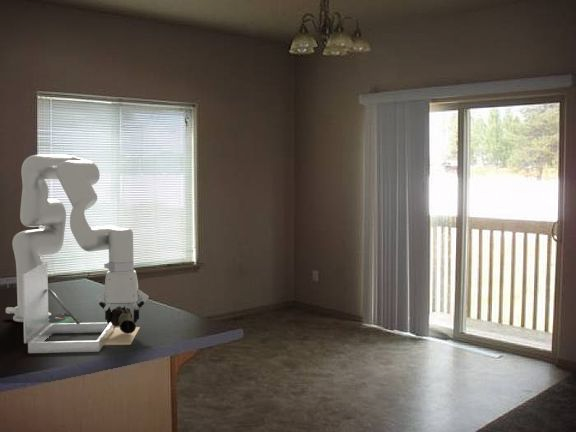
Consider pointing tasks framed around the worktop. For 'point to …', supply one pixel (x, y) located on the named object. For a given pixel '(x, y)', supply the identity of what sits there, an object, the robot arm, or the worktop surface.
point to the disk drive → (61, 318)
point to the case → (41, 328)
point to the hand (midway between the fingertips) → (122, 321)
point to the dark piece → (123, 319)
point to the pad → (121, 337)
